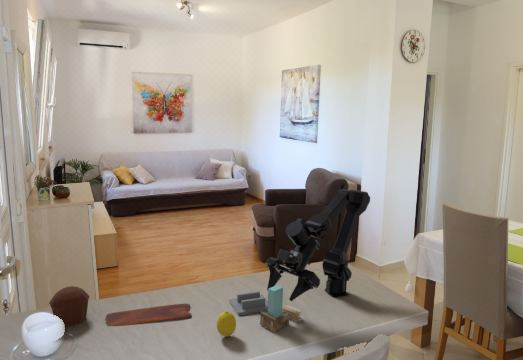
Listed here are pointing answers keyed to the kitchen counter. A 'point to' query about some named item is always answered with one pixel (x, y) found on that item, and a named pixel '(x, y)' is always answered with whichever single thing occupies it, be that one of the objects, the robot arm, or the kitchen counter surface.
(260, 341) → the kitchen counter surface
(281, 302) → the teal rectangular block
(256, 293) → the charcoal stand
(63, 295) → the muffin
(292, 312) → the offcut stack
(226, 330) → the lemon
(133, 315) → the wooden tablet
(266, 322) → the stand
